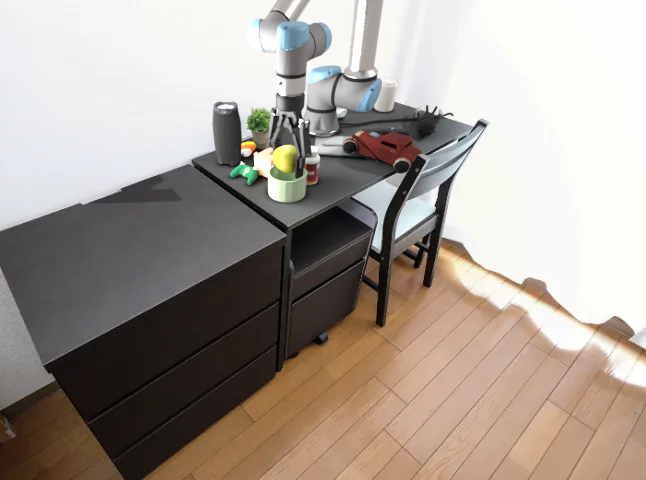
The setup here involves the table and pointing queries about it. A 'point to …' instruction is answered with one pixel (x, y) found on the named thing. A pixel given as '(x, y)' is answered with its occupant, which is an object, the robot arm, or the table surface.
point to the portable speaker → (227, 132)
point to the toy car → (384, 148)
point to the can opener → (387, 131)
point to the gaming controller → (246, 172)
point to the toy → (427, 121)
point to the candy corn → (247, 148)
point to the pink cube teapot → (264, 161)
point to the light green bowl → (286, 185)
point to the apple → (285, 158)
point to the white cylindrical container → (386, 95)
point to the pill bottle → (312, 166)
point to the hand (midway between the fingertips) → (287, 170)
